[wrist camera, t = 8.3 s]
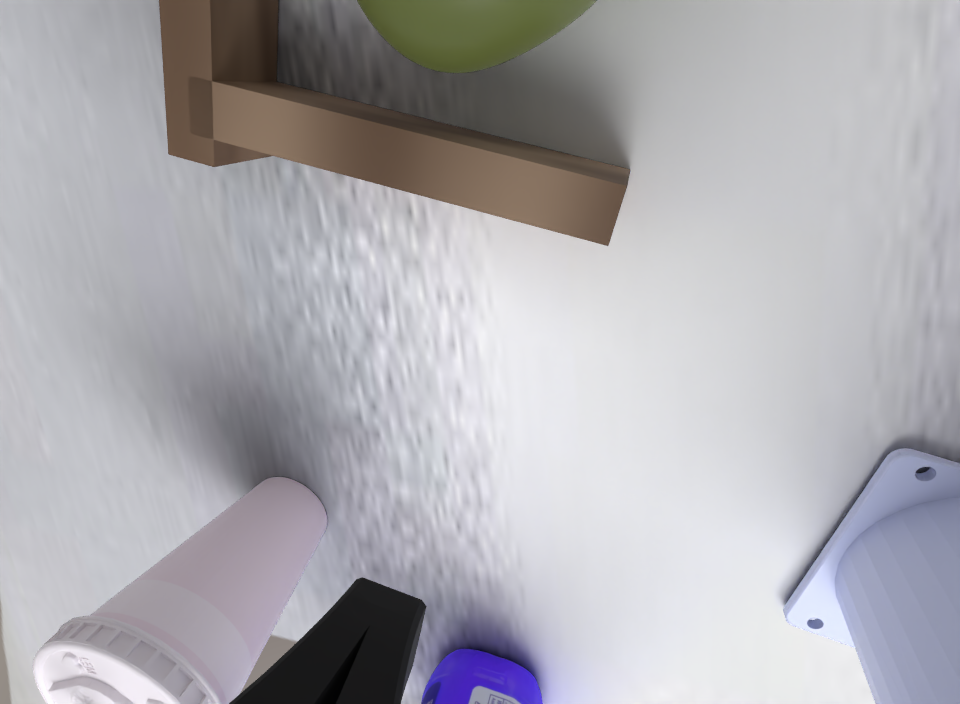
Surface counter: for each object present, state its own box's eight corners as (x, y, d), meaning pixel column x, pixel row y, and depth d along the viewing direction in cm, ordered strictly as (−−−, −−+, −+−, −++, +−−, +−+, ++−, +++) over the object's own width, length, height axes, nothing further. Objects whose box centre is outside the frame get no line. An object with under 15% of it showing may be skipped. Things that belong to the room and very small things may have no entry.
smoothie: (230, 431, 25) (-179, 771, 12) (364, 482, 24) (67, 900, 12) (227, 533, 28) (-105, 888, 15) (346, 582, 27) (95, 998, 15)
